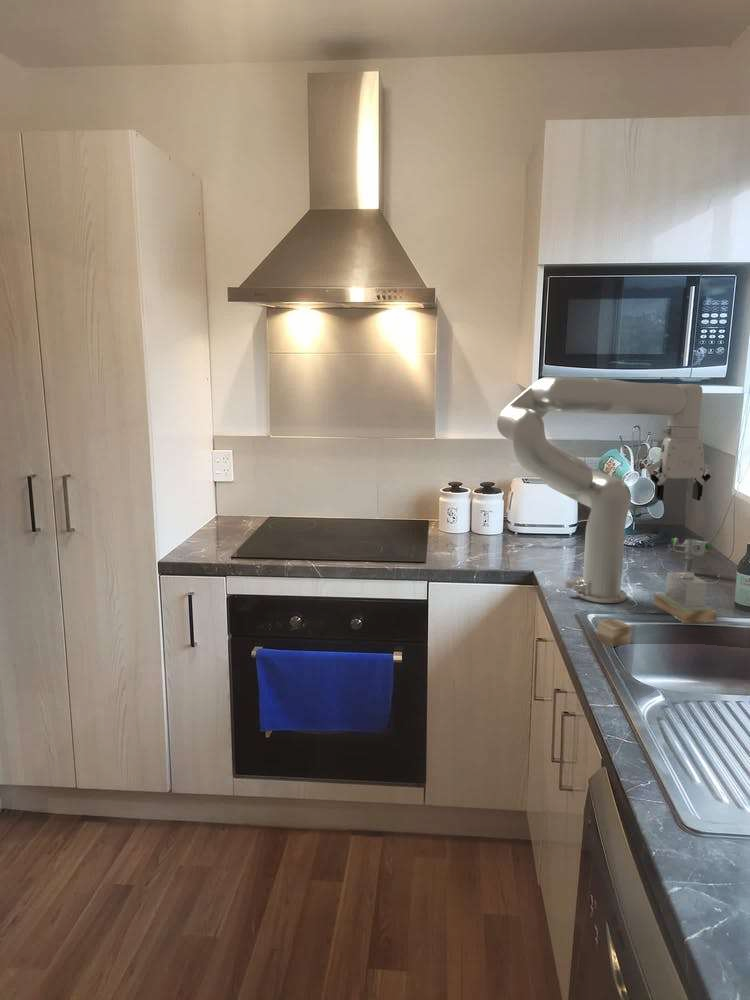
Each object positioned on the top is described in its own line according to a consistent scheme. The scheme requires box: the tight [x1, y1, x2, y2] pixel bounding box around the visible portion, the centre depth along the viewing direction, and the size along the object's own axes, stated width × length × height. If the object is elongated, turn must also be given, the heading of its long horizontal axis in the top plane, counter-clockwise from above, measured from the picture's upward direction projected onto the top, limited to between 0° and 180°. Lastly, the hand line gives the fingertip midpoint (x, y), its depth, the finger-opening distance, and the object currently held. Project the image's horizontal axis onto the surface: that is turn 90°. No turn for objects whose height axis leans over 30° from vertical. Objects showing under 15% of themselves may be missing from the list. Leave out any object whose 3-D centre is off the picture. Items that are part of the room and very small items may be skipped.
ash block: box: [596, 618, 633, 648], centre depth 155 cm, size 5×5×4 cm
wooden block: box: [653, 593, 718, 624], centre depth 174 cm, size 8×14×3 cm, turn 6°
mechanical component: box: [671, 537, 711, 572], centre depth 206 cm, size 3×10×10 cm, turn 51°
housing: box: [665, 570, 708, 607], centre depth 173 cm, size 9×5×7 cm, turn 7°
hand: (677, 499), depth 184 cm, fingers open, 9 cm apart
